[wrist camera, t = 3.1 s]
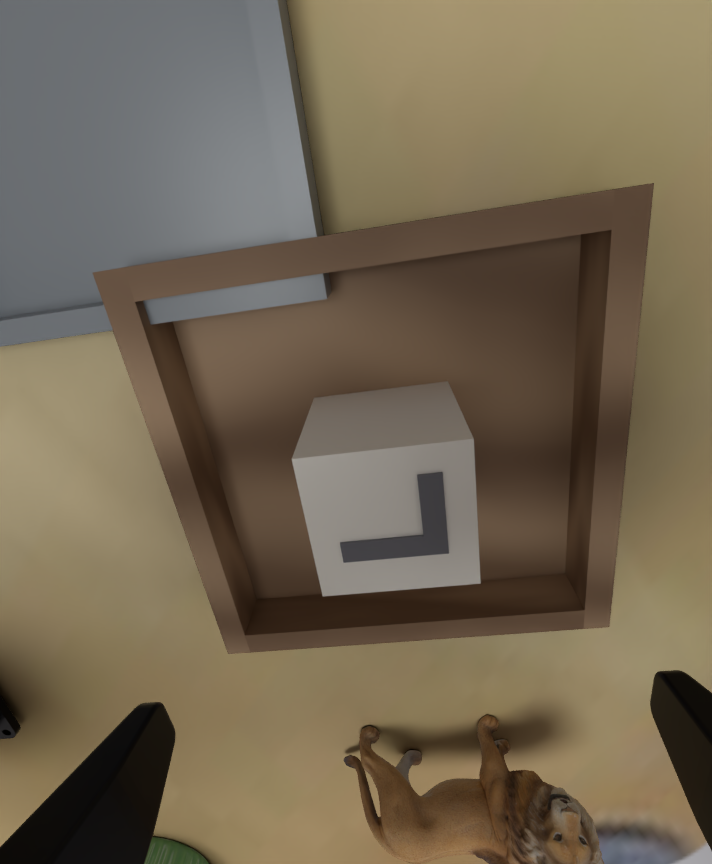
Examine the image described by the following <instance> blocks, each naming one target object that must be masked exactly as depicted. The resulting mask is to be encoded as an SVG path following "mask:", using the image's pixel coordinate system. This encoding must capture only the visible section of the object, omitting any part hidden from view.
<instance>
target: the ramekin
mask: <svg viewBox="0 0 712 864" xmlns="http://www.w3.org/2000/svg"><path fill="white" fill-rule="evenodd" d="M144 864H209V863H208V861H207V860H206V859H205V858H204V857H203V856H202V855H201V854H200V853H198V852H197V851H195V850H194V849H192V848H190V847H188V846H186V845H184V844H181V843H179V842H176V841H173V840H169V839H165V838H159V837H152V840H151V843H150V847H149V850H148V853H147V856H146V860H145V863H144Z"/></svg>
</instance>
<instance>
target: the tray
mask: <svg viewBox="0 0 712 864" xmlns="http://www.w3.org/2000/svg"><path fill="white" fill-rule="evenodd" d="M323 235H324V233H323V226H322V220H321V214H320V208H319V201H318V195H317V189H316V183H315V176H314V170H313V164H312V158H311V151H310V145H309V139H308V133H307V126H306V120H305V114H304V108H303V101H302V95H301V89H300V83H299V76H298V70H297V64H296V58H295V51H294V45H293V39H292V33H291V26H290V20H289V14H288V8H287V1H286V0H0V346H7V345H14V344H21V343H28V342H35V341H42V340H49V339H55V338H62V337H69V336H76V335H83V334H90V333H97V332H104V331H111V330H113V329H112V327H111V324H110V321H109V318H108V315H107V313H106V310H105V307H104V304H103V301H102V299H101V296H100V293H99V290H98V287H97V285H96V282H95V279H94V276H93V272H99V271H105V270H111V269H117V268H123V267H129V266H135V265H141V264H148V263H154V262H160V261H166V260H173V259H179V258H185V257H192V256H198V255H204V254H210V253H217V252H223V251H229V250H236V249H242V248H248V247H254V246H261V245H267V244H273V243H280V242H286V241H293V240H300V239H306V238H312V237H318V236H323ZM331 293H332V291H331V284H330V278H329V273H322V274H316V275H309V276H302V277H296V278H289V279H283V280H276V281H269V282H263V283H256V284H249V285H243V286H236V287H230V288H223V289H216V290H210V291H203V292H196V293H190V294H183V295H177V296H170V297H163V298H157V299H150V300H143V303H144V306H145V309H146V312H147V315H148V318H149V321H150V324H151V325H152V324H159V323H166V322H172V321H179V320H186V319H193V318H200V317H207V316H214V315H221V314H227V313H234V312H241V311H248V310H255V309H262V308H269V307H276V306H282V305H289V304H296V303H303V302H310V301H317V300H324V299H327V298H328V297H329V296H330V294H331Z"/></svg>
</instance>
